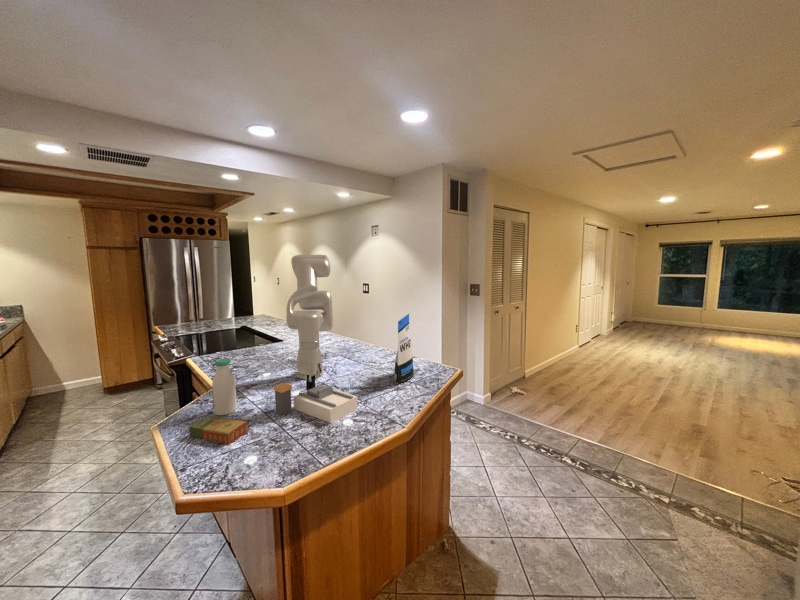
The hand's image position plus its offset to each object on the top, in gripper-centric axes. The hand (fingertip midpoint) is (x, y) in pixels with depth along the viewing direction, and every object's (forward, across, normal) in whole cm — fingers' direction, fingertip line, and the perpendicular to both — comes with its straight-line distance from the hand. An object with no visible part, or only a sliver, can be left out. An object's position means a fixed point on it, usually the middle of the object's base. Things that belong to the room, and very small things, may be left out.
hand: (310, 389), depth 131 cm
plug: (+6, -3, -11) cm, 13 cm away
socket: (+6, +8, 0) cm, 10 cm away
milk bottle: (+6, -22, -23) cm, 32 cm away
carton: (+6, -7, -33) cm, 34 cm away
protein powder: (+6, +13, +47) cm, 49 cm away
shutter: (+1, +5, 0) cm, 5 cm away
